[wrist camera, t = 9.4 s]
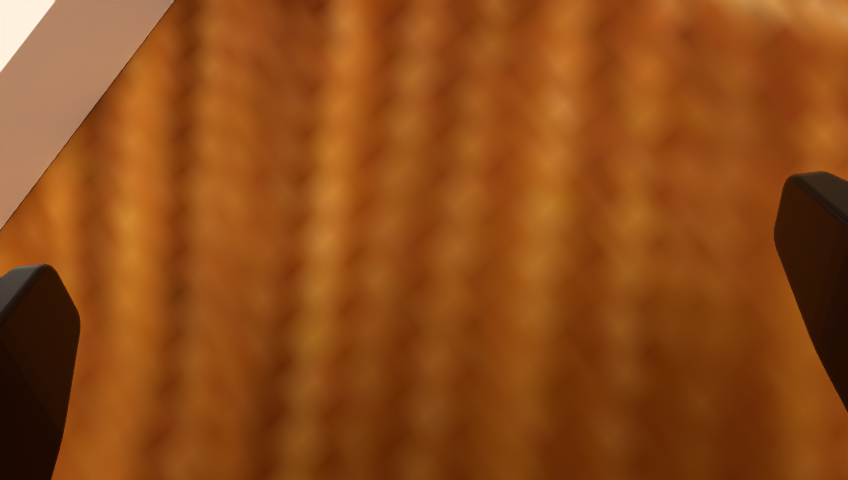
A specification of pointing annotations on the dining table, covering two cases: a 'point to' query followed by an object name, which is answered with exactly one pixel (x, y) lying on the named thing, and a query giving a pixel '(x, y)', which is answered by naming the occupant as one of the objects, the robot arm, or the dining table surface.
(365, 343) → the dining table surface
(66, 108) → the white flat square block
